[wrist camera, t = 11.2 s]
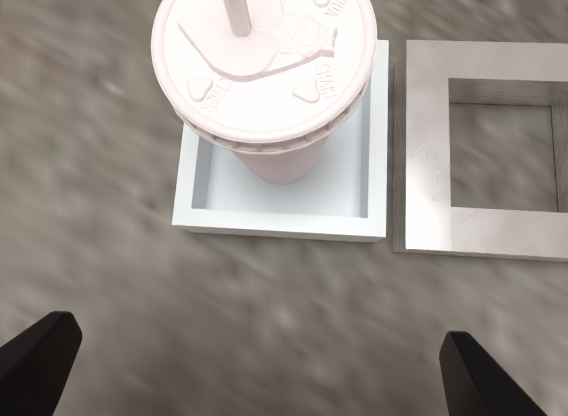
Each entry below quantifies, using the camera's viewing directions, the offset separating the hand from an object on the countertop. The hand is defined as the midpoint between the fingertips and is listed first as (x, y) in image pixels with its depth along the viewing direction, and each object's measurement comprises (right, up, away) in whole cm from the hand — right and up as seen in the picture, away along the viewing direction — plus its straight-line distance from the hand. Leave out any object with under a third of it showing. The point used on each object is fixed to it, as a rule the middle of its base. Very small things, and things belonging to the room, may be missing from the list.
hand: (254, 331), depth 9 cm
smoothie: (+1, +6, +11) cm, 12 cm away
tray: (+1, +6, +11) cm, 13 cm away
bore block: (+12, +5, +11) cm, 17 cm away
